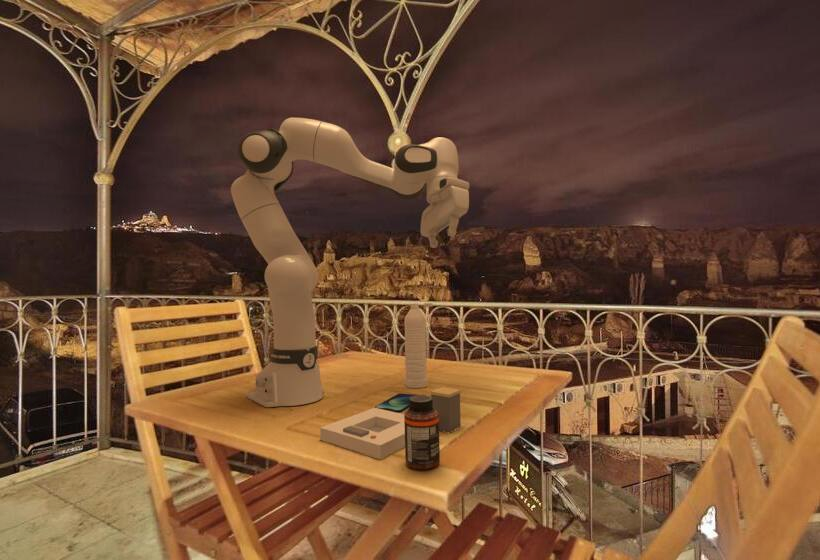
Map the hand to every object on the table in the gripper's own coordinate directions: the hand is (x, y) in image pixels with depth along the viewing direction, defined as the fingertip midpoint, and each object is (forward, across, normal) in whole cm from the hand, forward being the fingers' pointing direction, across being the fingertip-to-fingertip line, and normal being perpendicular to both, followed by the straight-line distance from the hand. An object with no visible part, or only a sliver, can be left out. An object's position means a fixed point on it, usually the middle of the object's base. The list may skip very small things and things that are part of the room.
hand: (442, 241), depth 109 cm
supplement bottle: (+51, +20, -15) cm, 57 cm away
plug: (+46, +8, -3) cm, 47 cm away
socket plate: (+48, +5, -18) cm, 51 cm away
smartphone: (+42, -14, -5) cm, 44 cm away
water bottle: (+36, -26, +7) cm, 45 cm away
